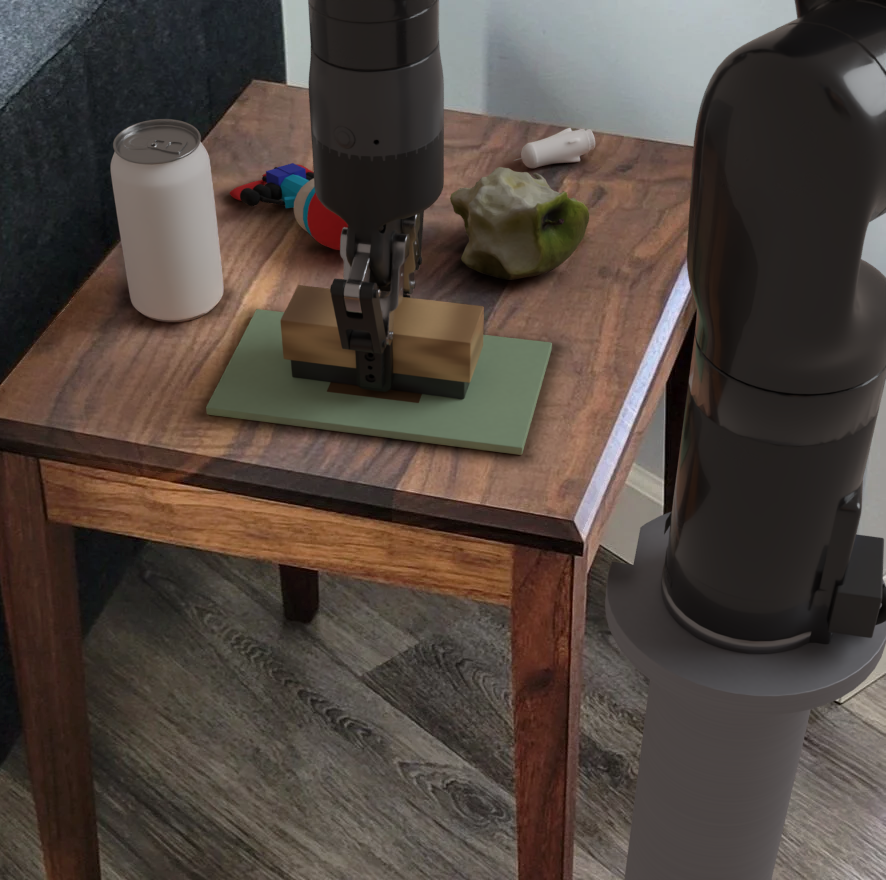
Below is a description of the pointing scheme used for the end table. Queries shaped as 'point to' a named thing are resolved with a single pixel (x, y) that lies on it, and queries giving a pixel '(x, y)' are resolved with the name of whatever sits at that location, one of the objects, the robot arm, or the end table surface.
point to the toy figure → (295, 201)
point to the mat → (386, 395)
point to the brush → (414, 345)
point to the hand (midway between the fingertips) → (384, 364)
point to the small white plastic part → (558, 148)
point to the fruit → (518, 224)
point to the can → (167, 220)
